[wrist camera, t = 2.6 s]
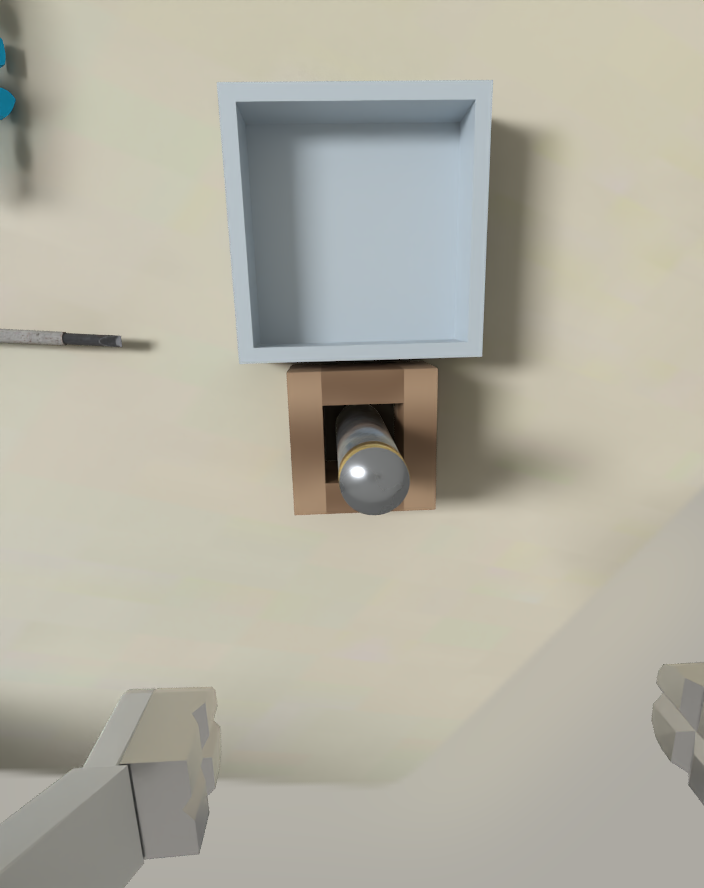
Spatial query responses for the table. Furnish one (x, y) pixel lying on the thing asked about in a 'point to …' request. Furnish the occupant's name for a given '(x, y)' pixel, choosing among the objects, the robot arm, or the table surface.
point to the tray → (357, 217)
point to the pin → (369, 462)
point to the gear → (3, 100)
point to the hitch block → (351, 386)
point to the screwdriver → (58, 338)
